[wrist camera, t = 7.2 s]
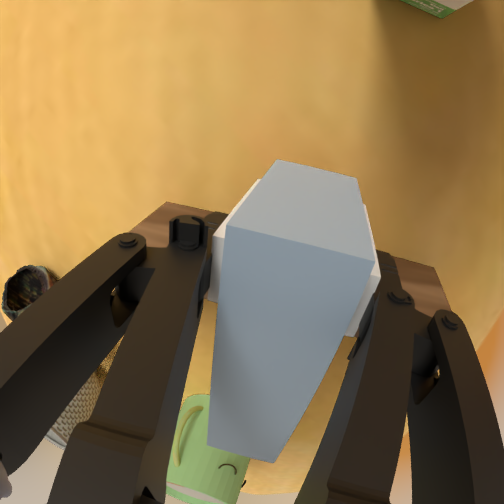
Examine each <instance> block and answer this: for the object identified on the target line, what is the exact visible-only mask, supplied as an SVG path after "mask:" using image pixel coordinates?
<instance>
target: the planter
mask: <svg viewBox="0 0 504 504" xmlns="http://www.w3.org/2000/svg"><path fill="white" fill-rule="evenodd" d="M96 375H97V369H96V370H95V371H94V372H93V374H92V375H91V376H90V378H89V379H88V380H87V381H86V383H85V384H84V385H83V386H82V388H81V389H80V390H79V392H78V393H77V394H76V396H75V397H74V398H73V399H72V401H71V402H70V403H69V405H68V406H67V407H66V409H65V410H64V411H63V413H62V414H61V415H60V417H59V418H58V419H57V421H56V422H55V423H54V425H53V426H52V427H51V429H50V430H49V431H48V433H47V434H46V435H45V437H44V438H45V439H47V440H48V441H49V442H51V443H53V444H54V445H56V446H57V447H59V448H61V449H63V450H65V448H66V445H67V442H68V440H69V437H70V435H71V433H72V431H73V429H74V427H75V426H76V425H77V424H78V423H79V422H83V421H87V420H88V419H89V418H90V416H91V414H92V412H93V409H94V406H95V404H96V401H97V399H98V396H99V394H100V391H101V388H100V383H99V381H98V378H97V376H96Z"/></svg>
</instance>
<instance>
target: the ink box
mask: <svg viewBox="0 0 504 504" xmlns="http://www.w3.org/2000/svg"><path fill="white" fill-rule="evenodd" d="M400 1H403V2H405V3H407V4H410V5H412V6H414V7H416V8H418V9H421V10H423V11H425V12H428V13H430V14H432V15H434V16H436V17H439V18H444V17H446V16H448V15H449V14H451V13H452V12H454V11H456V10H457V9H460V8H461V7H463V6H465V5H466V4H468V3H470V2H472V1H474V0H400Z"/></svg>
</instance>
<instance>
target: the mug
mask: <svg viewBox="0 0 504 504" xmlns="http://www.w3.org/2000/svg"><path fill="white" fill-rule="evenodd" d="M209 403H210V395H208V394H196V395H192V396H189V397H188V398H187V399H186V400H185V402H184V404H183V406H182V408H181V410H180V412H179V416H178V420H177V425H176V430H175V435H174V440H173V445H172V450H171V455H170V460H169V465H168V471H167V479H166V494H168V495H170V496H172V497H174V498H177V499H179V500H182V501H184V502H187V503H190V504H236V502H237V499H238V496H239V493H240V490H241V488H242V487H243V486H244V484H245V483H246V480H245V481H244V483H243V480H244V477H245V474H246V470H247V467H248V464H249V461H250V458H249V457H245V456H242V455H238V454H234V453H231V452H227V451H224V450H221V449H217V448H214V447H211V446H208V445H207V433H208V418H209ZM242 483H243V485H242Z"/></svg>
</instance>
